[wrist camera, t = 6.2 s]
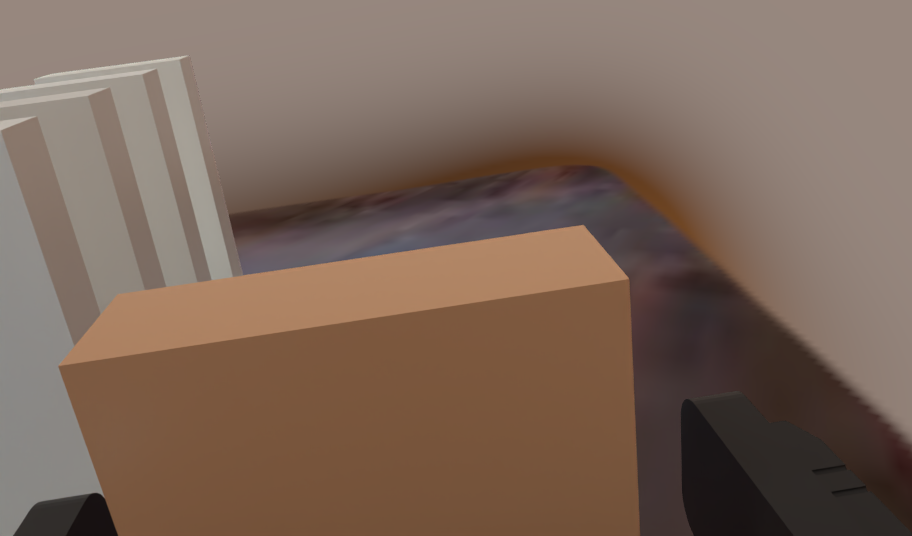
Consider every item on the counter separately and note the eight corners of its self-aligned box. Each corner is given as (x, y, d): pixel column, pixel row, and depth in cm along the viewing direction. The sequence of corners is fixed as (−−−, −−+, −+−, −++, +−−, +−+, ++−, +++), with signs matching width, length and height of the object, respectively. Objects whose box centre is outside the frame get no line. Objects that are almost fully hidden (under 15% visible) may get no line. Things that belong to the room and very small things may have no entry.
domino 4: (72, 395, 26) (-32, 97, 22) (89, 372, 27) (-6, 90, 23) (221, 372, 26) (142, 74, 22) (230, 351, 27) (156, 68, 24)
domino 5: (115, 337, 30) (33, 79, 26) (128, 320, 31) (52, 73, 28) (243, 318, 30) (179, 59, 26) (249, 302, 32) (189, 55, 28)
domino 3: (13, 476, 21) (-128, 125, 18) (37, 444, 23) (-89, 113, 19) (191, 448, 22) (87, 95, 18) (203, 418, 23) (109, 86, 20)
